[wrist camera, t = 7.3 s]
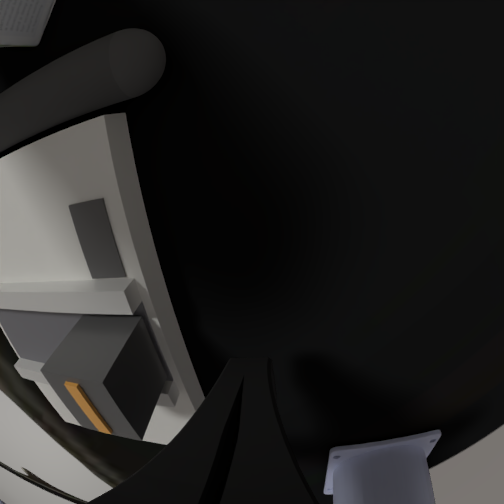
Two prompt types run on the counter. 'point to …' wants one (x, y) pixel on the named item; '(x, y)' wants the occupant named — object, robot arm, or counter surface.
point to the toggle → (108, 374)
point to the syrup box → (23, 21)
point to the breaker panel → (85, 259)
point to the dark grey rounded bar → (81, 83)
